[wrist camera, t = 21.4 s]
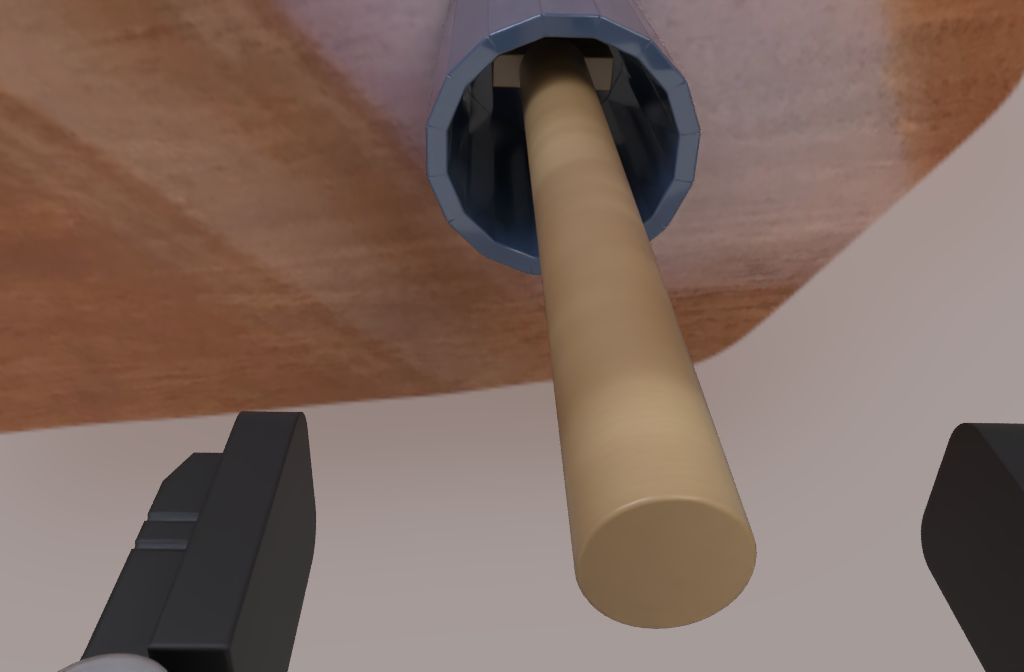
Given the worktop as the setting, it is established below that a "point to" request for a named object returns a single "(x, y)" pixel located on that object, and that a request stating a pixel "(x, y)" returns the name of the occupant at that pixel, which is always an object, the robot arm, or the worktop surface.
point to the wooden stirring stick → (621, 366)
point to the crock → (501, 130)
